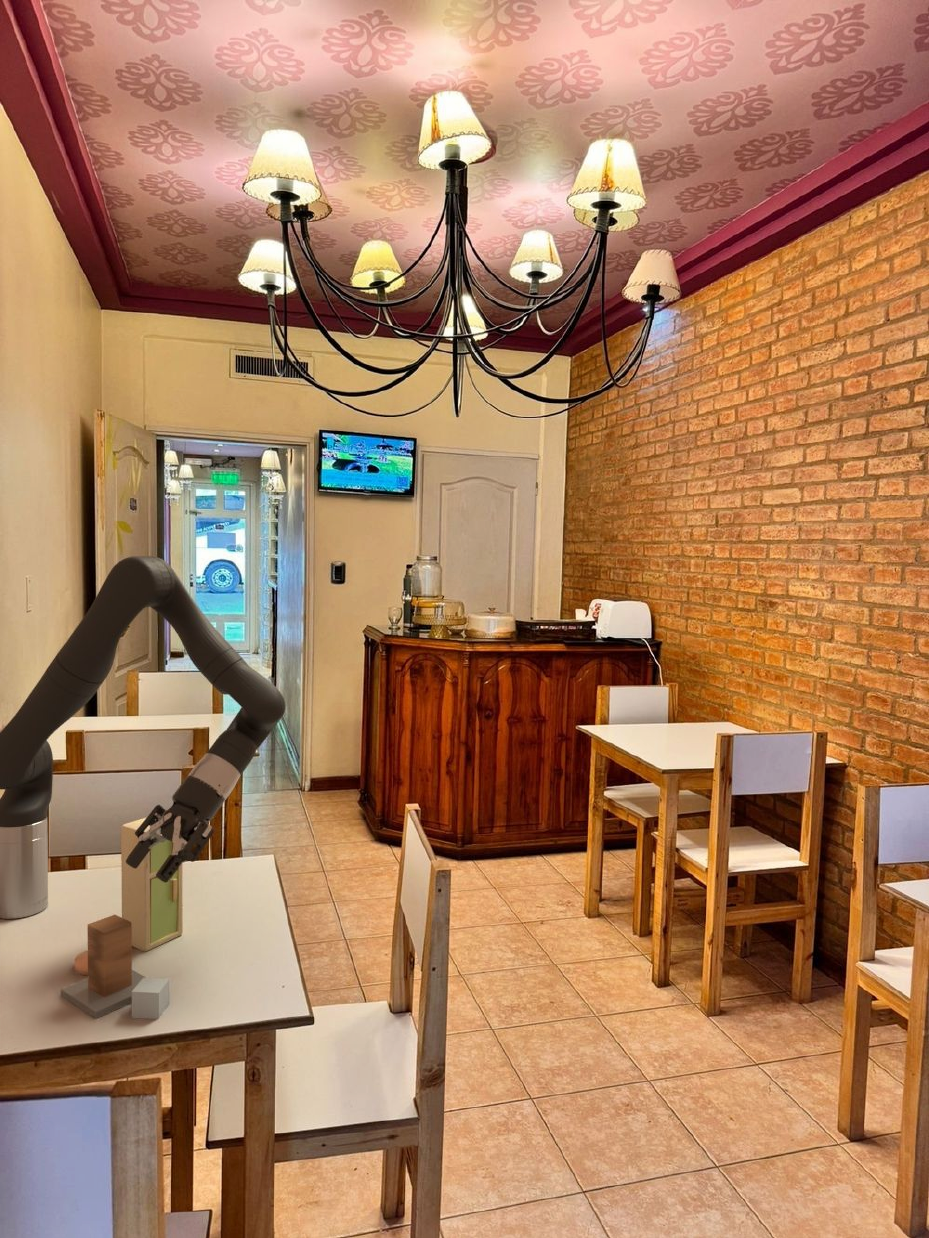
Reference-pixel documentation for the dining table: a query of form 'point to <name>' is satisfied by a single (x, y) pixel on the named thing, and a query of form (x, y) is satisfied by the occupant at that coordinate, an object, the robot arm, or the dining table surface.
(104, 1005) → the slate coaster
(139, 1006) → the grey cube
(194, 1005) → the dining table surface
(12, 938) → the dining table surface
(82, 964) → the orange disc
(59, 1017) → the dining table surface
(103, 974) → the walnut block
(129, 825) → the toy refrigerator
